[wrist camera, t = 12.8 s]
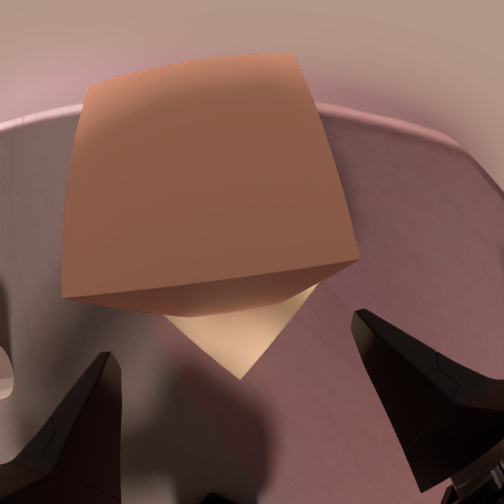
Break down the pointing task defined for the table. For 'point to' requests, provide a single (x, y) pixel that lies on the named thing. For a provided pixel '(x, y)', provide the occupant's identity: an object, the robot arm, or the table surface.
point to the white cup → (5, 375)
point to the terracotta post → (202, 190)
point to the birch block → (240, 332)
